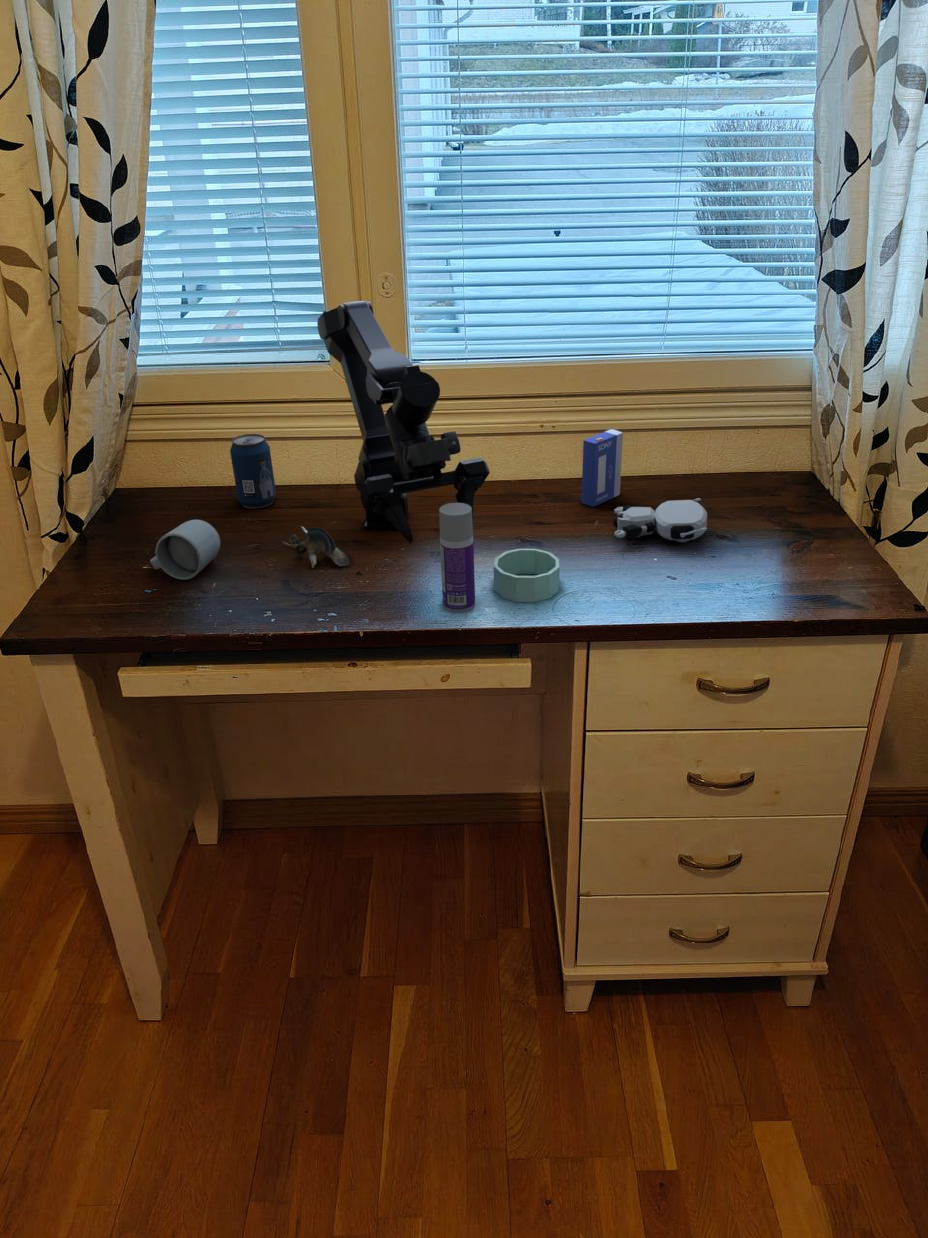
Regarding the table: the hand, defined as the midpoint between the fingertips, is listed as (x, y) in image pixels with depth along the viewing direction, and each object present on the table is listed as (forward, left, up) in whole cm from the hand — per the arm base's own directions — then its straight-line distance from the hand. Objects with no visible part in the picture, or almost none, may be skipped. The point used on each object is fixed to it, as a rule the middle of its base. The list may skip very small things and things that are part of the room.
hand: (441, 536), depth 138 cm
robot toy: (+33, +20, -9) cm, 40 cm away
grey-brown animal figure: (-21, +8, -9) cm, 24 cm away
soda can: (-38, +32, -9) cm, 50 cm away
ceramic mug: (-42, +5, -9) cm, 43 cm away
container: (+3, -5, -9) cm, 10 cm away
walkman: (+24, +35, -9) cm, 43 cm away
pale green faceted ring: (+12, +1, -8) cm, 15 cm away
